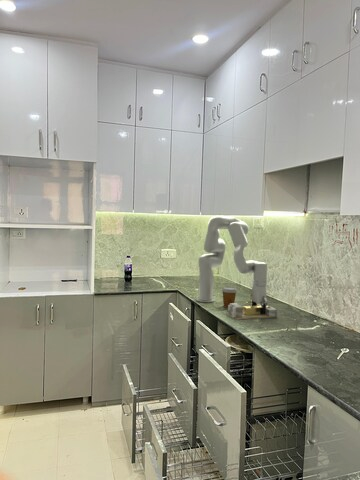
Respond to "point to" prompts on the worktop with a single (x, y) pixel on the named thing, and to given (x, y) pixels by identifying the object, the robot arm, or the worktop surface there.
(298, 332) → the worktop surface
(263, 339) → the worktop surface
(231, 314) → the tray with grey blocks
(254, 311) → the brass tube
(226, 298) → the disposable coffee cup
